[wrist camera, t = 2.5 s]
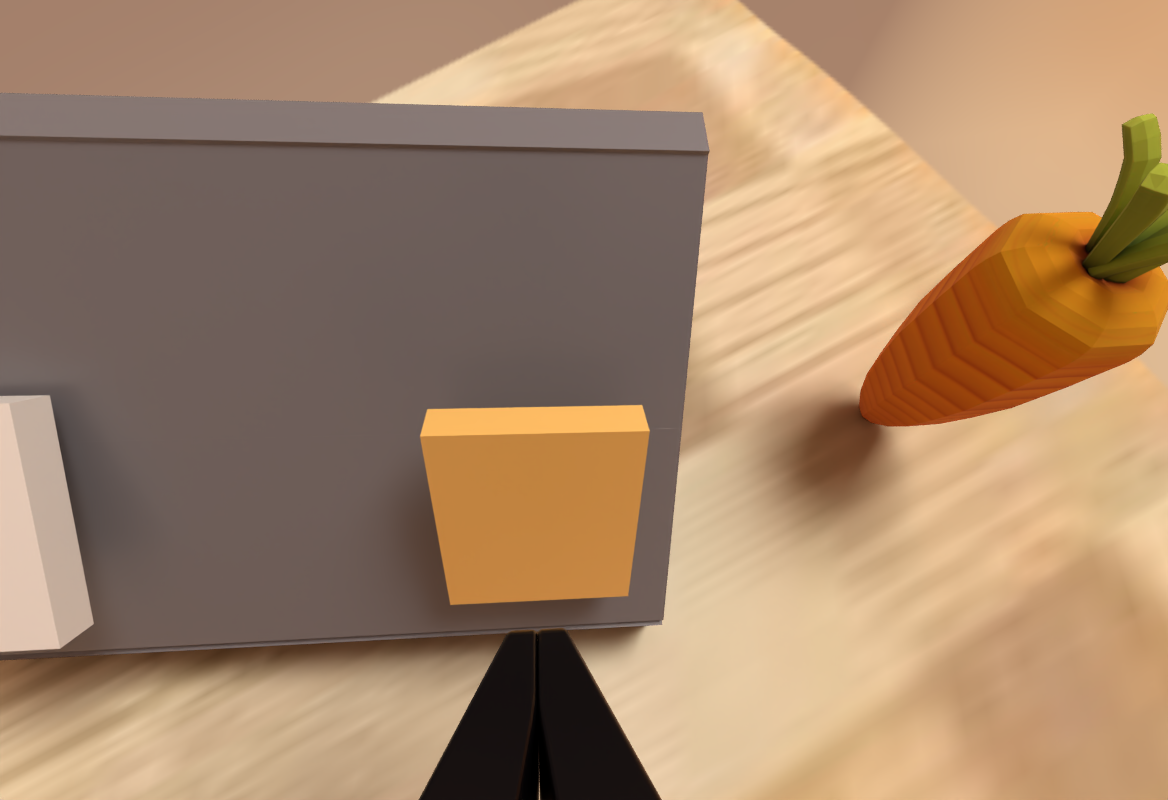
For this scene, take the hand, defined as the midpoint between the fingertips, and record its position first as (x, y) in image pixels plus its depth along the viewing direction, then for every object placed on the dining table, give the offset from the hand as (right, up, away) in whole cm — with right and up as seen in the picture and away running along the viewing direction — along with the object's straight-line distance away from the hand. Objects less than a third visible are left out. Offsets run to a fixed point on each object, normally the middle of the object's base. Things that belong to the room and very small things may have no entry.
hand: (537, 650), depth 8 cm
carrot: (+14, +3, +17) cm, 22 cm away
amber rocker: (-1, 0, +8) cm, 8 cm away
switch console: (-8, 0, +14) cm, 16 cm away
